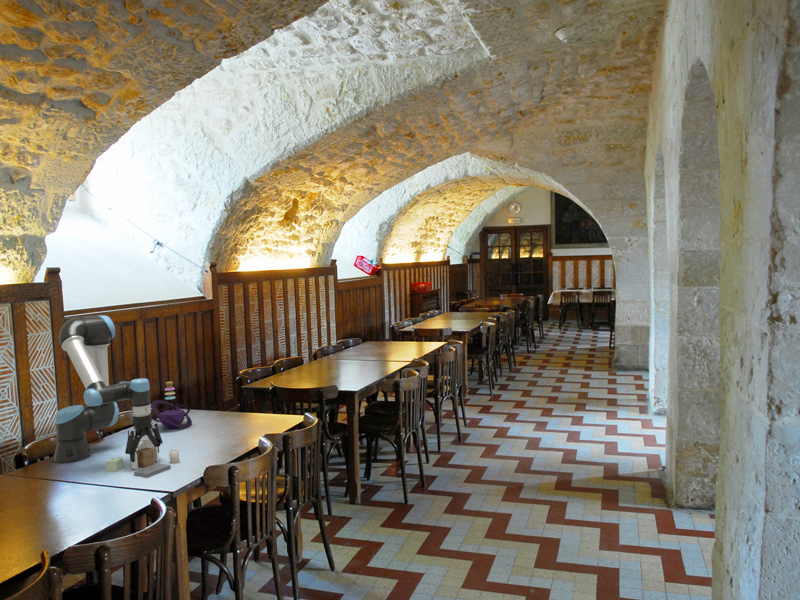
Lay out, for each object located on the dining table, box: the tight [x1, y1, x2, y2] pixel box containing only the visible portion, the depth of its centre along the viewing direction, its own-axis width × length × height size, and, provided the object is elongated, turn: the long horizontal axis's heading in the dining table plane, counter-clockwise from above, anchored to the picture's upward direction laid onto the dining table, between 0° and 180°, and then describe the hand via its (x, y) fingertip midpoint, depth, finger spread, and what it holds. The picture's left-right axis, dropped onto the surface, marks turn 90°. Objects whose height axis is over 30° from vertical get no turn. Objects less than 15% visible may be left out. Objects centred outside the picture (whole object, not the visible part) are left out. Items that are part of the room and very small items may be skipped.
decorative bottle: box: [150, 380, 193, 430], centre depth 331 cm, size 22×21×25 cm
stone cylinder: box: [168, 449, 180, 465], centre depth 272 cm, size 4×4×5 cm
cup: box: [137, 435, 155, 450], centre depth 285 cm, size 11×8×8 cm
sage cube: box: [106, 457, 124, 473], centre depth 265 cm, size 4×4×4 cm
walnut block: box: [135, 448, 155, 469], centre depth 269 cm, size 5×5×7 cm
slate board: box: [133, 462, 172, 479], centre depth 260 cm, size 8×12×2 cm, turn 152°
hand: (145, 464), depth 269 cm, fingers open, 10 cm apart
